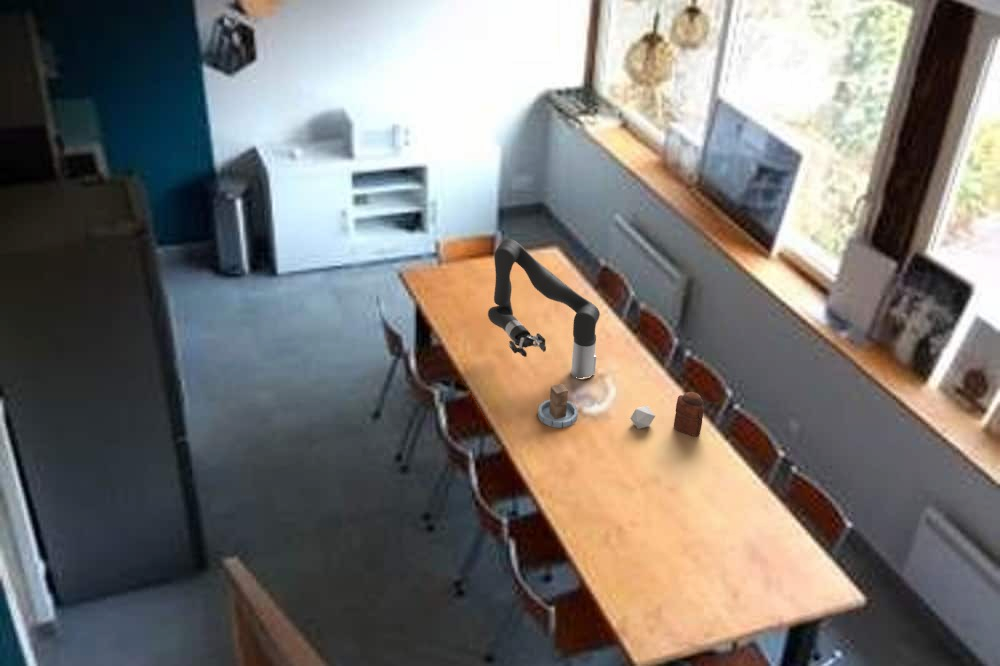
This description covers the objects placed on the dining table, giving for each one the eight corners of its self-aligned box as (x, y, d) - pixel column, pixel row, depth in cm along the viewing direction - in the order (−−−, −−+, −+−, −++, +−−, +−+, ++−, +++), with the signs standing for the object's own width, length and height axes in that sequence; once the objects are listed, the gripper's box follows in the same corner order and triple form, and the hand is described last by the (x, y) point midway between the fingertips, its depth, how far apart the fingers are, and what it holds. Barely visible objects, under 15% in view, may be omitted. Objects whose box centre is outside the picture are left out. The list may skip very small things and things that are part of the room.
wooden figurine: (703, 430, 414) (710, 394, 404) (698, 439, 409) (704, 402, 399) (676, 420, 418) (681, 384, 408) (670, 429, 414) (675, 393, 404)
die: (645, 417, 421) (632, 400, 417) (662, 417, 414) (649, 400, 410) (636, 433, 417) (622, 416, 413) (652, 433, 410) (639, 417, 406)
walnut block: (560, 409, 422) (561, 383, 415) (566, 416, 418) (568, 390, 411) (549, 412, 420) (550, 386, 413) (555, 419, 416) (556, 393, 409)
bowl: (565, 399, 428) (565, 394, 427) (583, 421, 417) (584, 416, 415) (531, 409, 422) (531, 404, 421) (549, 431, 411) (549, 426, 409)
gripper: (502, 329, 427) (519, 349, 414) (532, 320, 432) (551, 340, 419) (502, 344, 431) (519, 364, 418) (532, 335, 436) (550, 355, 424)
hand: (535, 352), depth 419 cm, fingers open, 8 cm apart
